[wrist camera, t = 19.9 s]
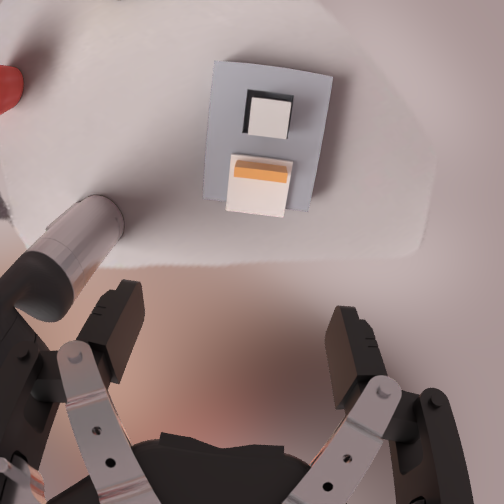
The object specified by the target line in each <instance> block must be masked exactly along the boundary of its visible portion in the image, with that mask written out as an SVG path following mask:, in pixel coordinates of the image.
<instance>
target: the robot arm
mask: <svg viewBox="0 0 504 504" xmlns="http://www.w3.org/2000/svg"><path fill="white" fill-rule="evenodd" d="M123 230H124V221H123V217H122V214H121V212H120V210H119V209H118V207H117V206H116V205H115V204H114V203H113V202H112V201H111V200H109V199H107V198H106V197H103V196H100V195H93V196H89V197H87V198H85V199H84V200H83V201H81V202H76V203H75V204H73V205H72V206H71V207H70V208H69V209H67V210H66V211H65V212H64V213H63V214H61V215H60V216H59V217H58V218H57V219H56V220H54V221H53V222H52V223H51V224H50V225H49V226H48V227H47V228H46V230H45V233H44V234H43V235H42V236H41V237H40V238H39V239H38V240H37V241H36V242H35V243H34V244H33V245H32V246H31V247H29V248H28V249H27V250H26V251H25V253H23V254H22V255H21V256H20V257H19V258H18V260H17V261H16V262H15V263H14V264H13V265H12V266H11V267H10V268H9V269H8V270H7V271H6V272H5V273H4V275H2V277H1V278H0V504H347V501H348V500H349V498H350V496H351V495H352V494H353V492H354V490H355V489H356V488H357V486H358V484H359V483H360V481H361V480H362V478H363V476H364V475H365V473H366V471H367V470H368V468H369V466H370V465H371V463H372V461H373V459H374V457H375V456H376V454H377V452H378V451H379V449H380V447H381V445H382V443H383V439H387V440H389V447H390V453H391V461H392V469H393V477H394V485H395V495H396V504H474V503H473V496H472V491H471V485H470V480H469V475H468V471H467V466H466V462H465V458H464V453H463V449H462V445H461V441H460V437H459V434H458V430H457V427H456V423H455V420H454V417H453V413H452V410H451V407H450V403H449V400H448V398H447V396H446V395H445V394H444V393H443V392H442V391H440V390H439V389H436V388H428V389H425V390H424V391H423V392H422V393H421V394H420V395H418V394H414V393H410V392H406V391H403V390H401V388H400V386H399V385H398V383H397V382H396V381H395V380H394V379H392V378H390V377H388V376H387V372H386V369H385V366H384V363H383V359H382V357H381V353H380V350H379V348H378V344H377V341H376V340H375V335H374V332H373V329H372V328H371V327H370V325H369V324H368V323H367V322H366V321H365V320H361V319H359V317H358V314H357V311H356V308H355V307H350V306H337V307H336V308H335V310H334V313H333V315H332V318H331V321H330V323H329V326H328V328H327V331H326V335H325V348H326V354H327V360H328V366H329V372H330V378H331V384H332V390H333V396H334V402H335V409H345V417H344V418H343V420H342V421H341V422H340V424H339V425H338V427H337V428H336V430H335V431H334V432H333V434H332V435H331V437H330V438H329V439H328V441H327V442H326V444H325V445H324V446H323V448H322V449H321V450H320V452H319V453H318V454H317V455H316V456H315V458H314V459H313V460H312V461H311V463H310V464H309V465H308V464H307V463H306V462H304V461H302V460H301V459H299V458H297V457H295V456H292V455H289V454H286V453H284V446H272V445H247V446H240V447H233V448H218V447H215V446H212V445H209V444H207V443H204V442H201V441H199V440H196V439H193V438H191V437H185V436H178V435H173V434H168V433H163V432H161V435H160V439H154V440H147V441H143V442H140V443H138V444H135V445H132V443H131V441H130V439H129V437H128V435H127V433H126V431H125V430H124V427H123V425H122V423H121V420H120V418H119V416H118V414H117V411H116V409H115V407H114V404H113V402H112V400H111V397H110V395H109V392H108V387H109V385H110V382H113V383H116V384H120V381H121V378H122V375H123V373H124V370H125V368H126V365H127V362H128V360H129V357H130V355H131V352H132V349H133V347H134V344H135V342H136V339H137V337H138V335H139V332H140V330H141V327H142V324H143V322H144V316H145V309H144V301H143V293H142V286H141V283H140V282H137V281H131V280H125V279H123V280H122V281H121V282H120V284H119V286H118V287H117V289H116V290H109V291H107V292H106V293H105V294H104V295H102V296H101V297H100V299H99V301H98V302H97V304H96V307H94V309H93V311H92V314H90V316H89V318H88V319H87V321H86V323H85V324H84V326H83V328H82V330H81V331H80V333H79V335H78V337H77V338H76V340H74V341H70V342H67V343H65V344H64V345H63V346H62V347H61V348H60V349H59V350H58V351H50V350H49V349H48V347H47V346H46V345H45V343H44V342H43V341H42V340H41V339H40V337H39V336H38V335H37V334H36V333H35V332H34V330H33V329H32V328H31V327H30V326H29V325H28V323H27V322H26V321H25V320H24V319H23V317H22V316H21V315H20V314H19V313H18V312H17V310H16V309H15V307H16V308H18V309H20V310H22V311H24V312H26V313H27V314H29V315H30V316H32V317H34V318H36V319H38V320H41V321H44V322H56V321H59V320H61V319H62V318H63V317H64V316H65V315H66V313H67V312H68V310H69V309H70V307H71V305H72V304H73V303H74V301H75V299H76V298H77V297H78V295H79V294H80V292H81V291H82V289H83V288H84V286H85V285H86V284H87V282H88V281H89V279H90V278H91V277H92V275H93V274H94V272H95V271H96V270H97V268H98V267H99V266H100V264H101V263H102V262H103V260H104V259H105V257H106V256H107V255H108V253H109V252H110V251H111V250H112V248H113V247H114V246H115V244H116V243H117V242H118V240H119V239H120V238H121V236H122V234H123ZM60 403H66V410H67V413H68V417H69V420H70V423H71V426H72V430H73V433H74V436H75V438H76V441H77V444H78V447H79V449H80V452H81V455H82V458H83V460H84V462H85V465H86V468H87V470H88V473H89V475H88V476H87V477H85V478H84V479H82V480H81V481H79V482H78V483H76V484H74V485H73V486H71V487H70V488H68V489H66V490H65V491H63V492H62V493H60V494H58V495H57V496H55V497H53V498H52V499H50V500H49V501H48V502H47V501H46V499H45V495H44V492H45V489H44V480H43V478H42V476H41V474H40V473H39V472H38V470H39V466H40V462H41V459H42V455H43V452H44V449H45V445H46V442H47V439H48V436H49V433H50V430H51V427H52V424H53V421H54V418H55V415H56V413H57V410H58V407H59V404H60Z"/></svg>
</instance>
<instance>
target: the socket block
mask: <svg viewBox="0 0 504 504" xmlns="http://www.w3.org/2000/svg"><path fill="white" fill-rule="evenodd" d="M332 82H333V77H332V76H327V75H322V74H317V73H312V72H307V71H301V70H295V69H289V68H282V67H275V66H268V65H259V64H250V63H239V62H227V61H214V68H213V77H212V87H211V96H210V107H209V117H208V129H207V141H206V154H205V167H204V183H203V199H207V200H217V201H226V202H227V191H228V181H229V170H230V160H231V153H233V154H242V155H251V156H259V157H267V158H274V159H282V160H288V161H293V166H292V171H291V177H290V183H289V189H288V195H287V200H286V206H285V209H291V210H298V211H305V212H308V211H309V206H310V201H311V196H312V191H313V187H314V182H315V177H316V172H317V166H318V161H319V156H320V151H321V145H322V140H323V135H324V129H325V123H326V118H327V112H328V106H329V100H330V94H331V88H332ZM254 96H263V97H271V98H278V99H285V100H287V101H289V102H291V109H290V116H289V123H288V130H287V137H286V139H280V138H272V137H264V136H256V135H248V128H249V119H250V110H251V102H252V97H254Z"/></svg>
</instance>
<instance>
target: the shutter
mask: <svg viewBox="0 0 504 504" xmlns="http://www.w3.org/2000/svg"><path fill="white" fill-rule="evenodd" d="M292 166H293V161H288V160H282V159H274V158H267V157H259V156H251V155H242V154H233V153H231V160H230V170H229V181H228V191H227V202H226V211H233V212H241V213H250V214H258V215H266V216H274V217H282V218H283V217H284V212H285V206H286V200H287V195H288V189H289V183H290V177H291V171H292Z"/></svg>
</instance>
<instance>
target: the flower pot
mask: <svg viewBox="0 0 504 504" xmlns="http://www.w3.org/2000/svg"><path fill="white" fill-rule="evenodd" d="M23 86H24V81H23V76H22V74H21V72H20V70H18V69H17V68H15V67H11V66H4V65H0V115H1V114H2V113H4V112H6V111H8V110H9V109H11V108H13V107H14V106H15V105H16V104H17V103H18V102H19V100H20V98H21V96H22V92H23Z"/></svg>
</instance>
